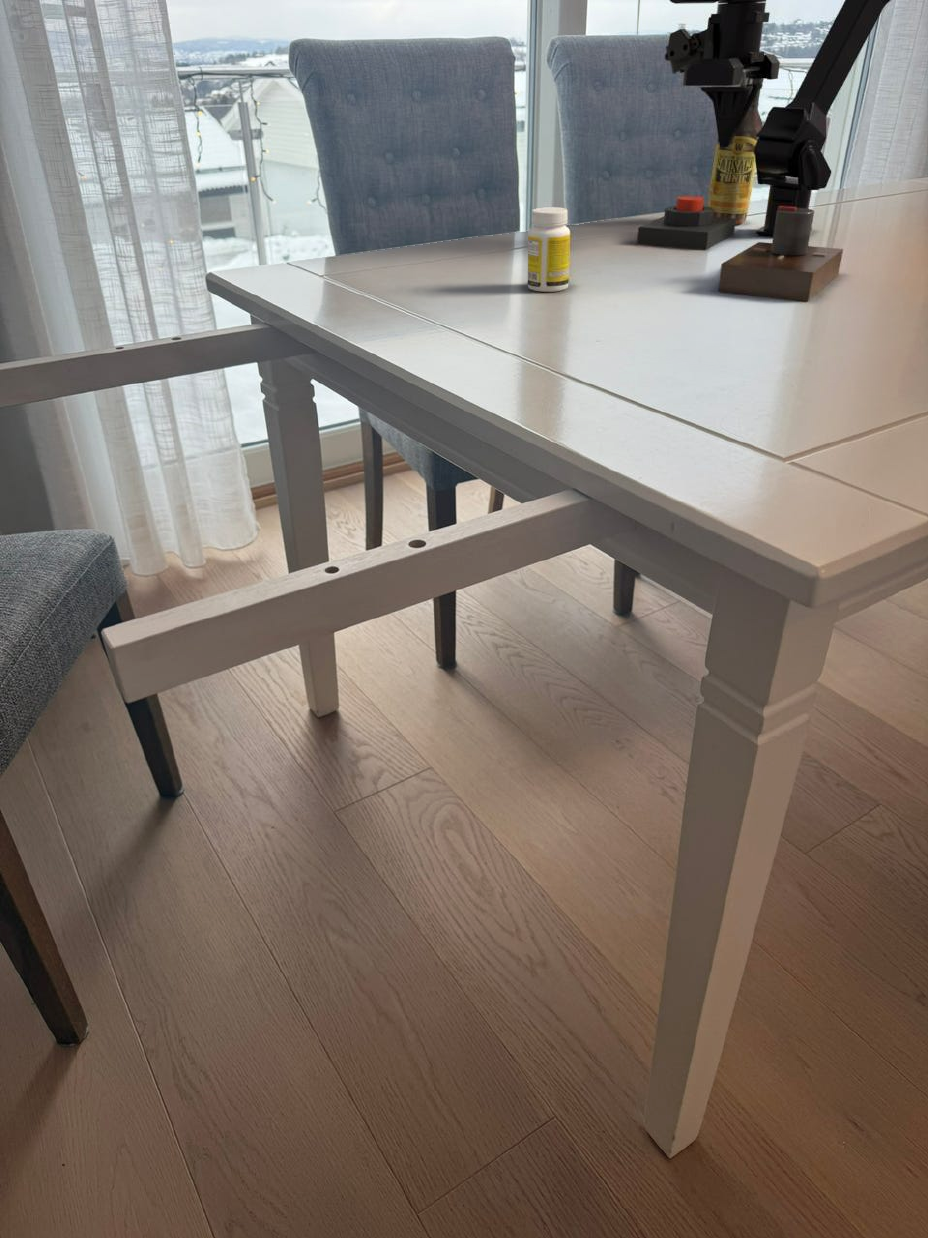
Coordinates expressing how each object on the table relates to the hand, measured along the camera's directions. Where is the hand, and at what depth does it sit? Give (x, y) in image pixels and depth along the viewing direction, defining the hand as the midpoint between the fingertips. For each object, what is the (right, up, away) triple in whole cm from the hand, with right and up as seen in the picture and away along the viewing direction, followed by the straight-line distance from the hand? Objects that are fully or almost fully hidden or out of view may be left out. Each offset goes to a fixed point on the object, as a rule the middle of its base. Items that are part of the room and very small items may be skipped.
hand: (724, 146), depth 118 cm
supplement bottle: (-25, -24, -13) cm, 36 cm away
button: (-3, -5, +8) cm, 10 cm away
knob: (+3, -20, -14) cm, 24 cm away
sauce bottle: (+6, -1, +20) cm, 21 cm away
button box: (-3, -8, +10) cm, 13 cm away
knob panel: (+2, -23, -14) cm, 27 cm away
